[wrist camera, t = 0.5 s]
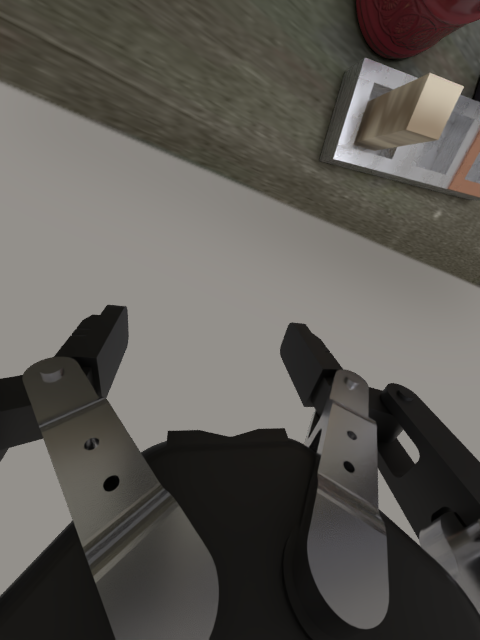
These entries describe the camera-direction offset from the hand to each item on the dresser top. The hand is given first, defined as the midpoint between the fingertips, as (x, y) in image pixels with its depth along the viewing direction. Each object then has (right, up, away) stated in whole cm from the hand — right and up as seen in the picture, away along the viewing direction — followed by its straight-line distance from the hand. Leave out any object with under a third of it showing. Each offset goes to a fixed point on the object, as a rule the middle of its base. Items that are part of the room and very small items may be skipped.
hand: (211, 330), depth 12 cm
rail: (+27, +25, +22) cm, 43 cm away
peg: (+18, +26, +19) cm, 37 cm away
